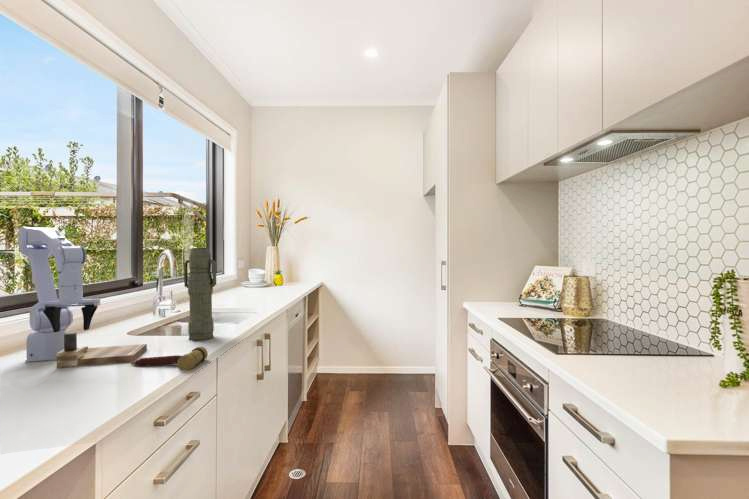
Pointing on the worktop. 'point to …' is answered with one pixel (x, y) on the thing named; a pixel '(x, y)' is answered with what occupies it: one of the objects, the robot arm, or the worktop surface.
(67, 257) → the robot arm
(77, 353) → the rubber stamp
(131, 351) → the board
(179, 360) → the gavel
